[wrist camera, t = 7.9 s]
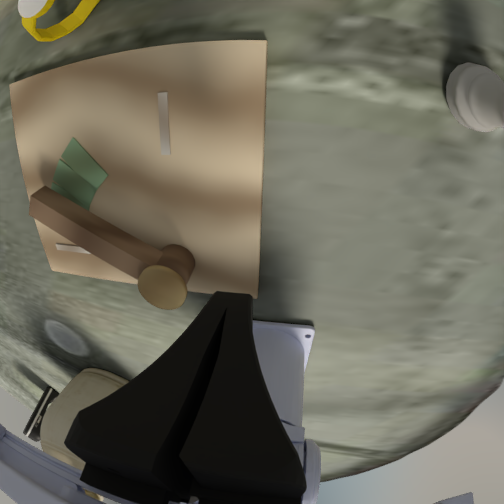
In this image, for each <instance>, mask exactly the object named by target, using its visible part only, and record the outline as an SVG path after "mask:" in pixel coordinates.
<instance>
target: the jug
mask: <svg viewBox="0 0 504 504" xmlns="http://www.w3.org/2000/svg"><path fill="white" fill-rule="evenodd" d="M128 382H129V381H128V380H126V379H124V378H122V377H120V376H118V375H115V374H114V373H111V372H109V371H106V370H102V369H98V368H86V369H84V370H82V371H81V372H80V373H79V374H78V375H76V376H75V377H74V378H73V379H72V380H71V381H70V382H69V384H68V385H67V386H66V387H65V388H64V389H63V391H62V392H61V393H60V394H59V395H58V397H57V398H56V399H55V400H54V401H53V403H52V404H51V405H50V406H49V408H48V409H47V411H46V412H45V415H44V417H43V420H42V424H41V430H40V438H41V446H42V449H43V452H45V453H47V454H49V455H51V456H53V457H54V458H56V459H58V460H60V461H63V462H65V463H67V464H69V465H71V466H73V467H75V468H77V469H80V470H82V471H83V469H84V466H85V463H86V462H84V461H83V460H82V459H80V458H79V457H78V456H76V455H75V454H74V453H72V452H71V451H70V450H69V449H68V448H67V447H66V446H65V444H64V441H65V439H66V436H67V434H68V432H69V429H70V427H71V425H72V423H73V421H74V419H75V417H76V415H77V414H78V412H79V411H80V410H82V409H84V408H86V407H88V406H90V405H92V404H94V403H96V402H98V401H100V400H101V399H103V398H105V397H107V396H108V395H110V394H111V393H113V392H115V391H116V390H118V389H119V388H121V387H122V386H124V385H125V384H127V383H128ZM83 489H84V488H83ZM84 490H85V494H86V495H88V496H90V497H92V498H95V499H97V500H99V501H102V502H103V499H104V497H103V496H100V495H98V494H95V493H93V492H91V491H88V490H86V489H84Z"/></svg>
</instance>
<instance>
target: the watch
mask: <svg viewBox="0 0 504 504" xmlns="http://www.w3.org/2000/svg"><path fill="white" fill-rule="evenodd" d="M54 1H55V0H19V2H18V10H19V14H20V15H21V17H22V24H23V26H24V27H25V29H26V30H27V31H28V32H29V33H30V34H31V35H32V36H33V37H34V38H35V39H36V40H37V41H54V40H56V39H58V38H61V37H63V36H65V35H68V33H71V32H72V31H73V30H75V29H76V28H77V27H79V26H80V25H81V24H83V23H84V21H85V20H86V18H87V17H88V16H89V14H90V13H91V11H92V10H93V9H94V8H95V6H96V5H97V4H98V2H99V1H100V0H82V1H81V2H80V4H79V5H78V7H77V8H76V9H75V11H74V12H73V13H72V14H71V15H69V16H68V17H67V18H65V19H64V20H63V21H61V22H60V23H58V24H56V25H53V26H51V27H49V28H46V29H36V19H37V18H38V17H40V16H42V15H43V14H45V13H46V12H47V11H48V10H49V9H50V7H51V6H52V5H53V3H54Z"/></svg>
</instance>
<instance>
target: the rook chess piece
mask: <svg viewBox="0 0 504 504" xmlns="http://www.w3.org/2000/svg"><path fill="white" fill-rule="evenodd" d="M446 98H447V102H448V105H449V108H450V111H451V113H452V114H453V115H454V117H455V118H456V119H457V121H458V122H459V123H460V124H462V125H464V126H465V127H467V128H469V129H473V130H475V131H481V132H490V131H492V130H495V129H497V128H499V127H501V128H504V82H503V80H501V79H500V77H499V76H498V75H497V74H496V73H494V72H493V71H492V70H490V69H489V68H488V67H486V66H482V65H479V64H474V63H469V62H467V63H464V64H461V65H458V66H457V67H456V68H455V69H454V70H453V71H452V72H451V73H450V76H449V79H448V82H447V85H446Z"/></svg>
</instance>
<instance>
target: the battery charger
mask: <svg viewBox="0 0 504 504" xmlns="http://www.w3.org/2000/svg"><path fill="white" fill-rule="evenodd" d="M58 395H59V394H58V393H57V392H55V391H54V390H53V389H52V388H50V387H47V388H46V390H45V391H44V393H43V395H42V397H41V398H40V400H39V402H38V404H37V406H36V408H35V410H34V412H33V414H32V415H31V417H30V419H29V421H28V423H27V425H26V427H25V429H24V432H23V433H24V434H25V435H26V436H28V437H29V438H31V439H32V440H34V441H36V442H37V441H40V440H41V438H40V430H41V424H42V420H43V417H44V415H45V412H46V408H47V406H48V404H49V403H52V402H53V401H54V400H55V399H56V398H57V397H58Z"/></svg>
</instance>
